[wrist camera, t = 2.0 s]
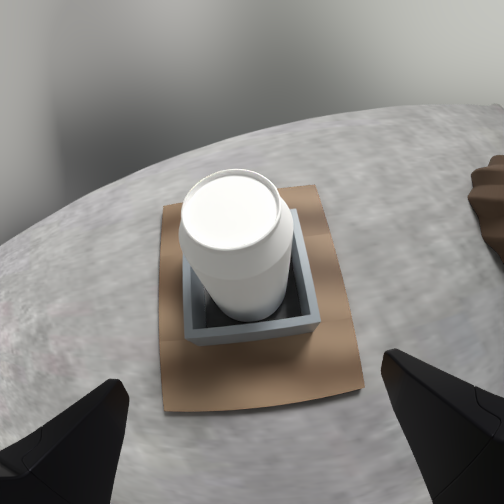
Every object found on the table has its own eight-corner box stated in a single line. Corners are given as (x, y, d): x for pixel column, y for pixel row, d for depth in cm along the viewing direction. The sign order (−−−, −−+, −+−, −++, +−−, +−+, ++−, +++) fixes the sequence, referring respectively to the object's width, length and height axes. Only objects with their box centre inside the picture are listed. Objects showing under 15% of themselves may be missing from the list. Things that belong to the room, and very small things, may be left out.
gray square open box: (311, 333, 21) (321, 321, 17) (201, 347, 21) (184, 338, 17) (293, 236, 26) (296, 208, 22) (196, 250, 26) (183, 224, 22)
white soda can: (299, 301, 23) (322, 222, 12) (235, 338, 22) (197, 289, 11) (262, 246, 25) (254, 145, 15) (202, 278, 24) (153, 193, 14)
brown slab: (361, 387, 19) (364, 387, 18) (167, 410, 19) (164, 411, 18) (314, 189, 28) (315, 184, 27) (165, 210, 28) (163, 205, 28)
